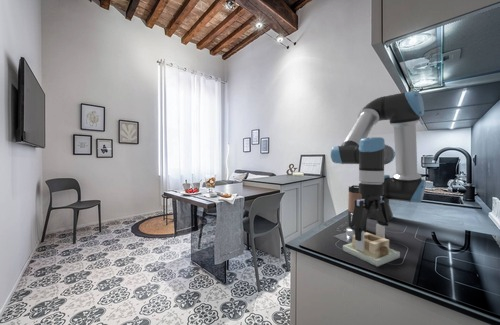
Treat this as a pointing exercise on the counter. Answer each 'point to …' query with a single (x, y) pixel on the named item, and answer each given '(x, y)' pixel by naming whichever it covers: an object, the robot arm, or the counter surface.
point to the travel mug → (353, 202)
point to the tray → (376, 262)
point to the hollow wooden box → (373, 246)
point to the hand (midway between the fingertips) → (370, 246)
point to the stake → (346, 234)
